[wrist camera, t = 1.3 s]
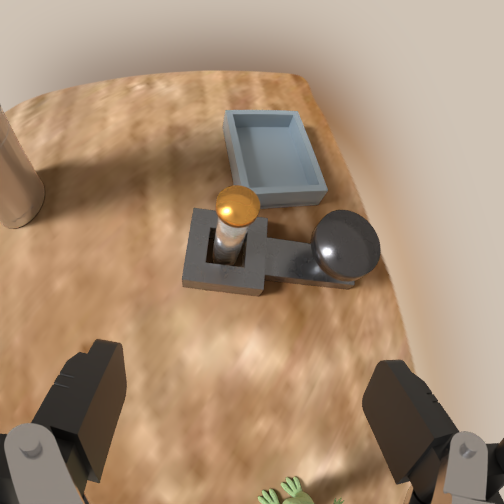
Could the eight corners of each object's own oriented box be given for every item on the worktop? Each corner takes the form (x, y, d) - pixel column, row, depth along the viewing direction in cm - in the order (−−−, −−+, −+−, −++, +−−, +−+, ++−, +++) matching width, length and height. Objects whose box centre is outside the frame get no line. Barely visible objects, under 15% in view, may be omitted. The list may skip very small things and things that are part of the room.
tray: (222, 127, 49) (225, 110, 45) (291, 127, 52) (297, 111, 48) (238, 210, 43) (243, 194, 40) (318, 204, 46) (327, 190, 42)
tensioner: (182, 286, 38) (179, 260, 30) (193, 219, 41) (194, 180, 33) (348, 304, 41) (383, 285, 32) (345, 241, 44) (376, 211, 36)
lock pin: (202, 253, 40) (207, 199, 28) (226, 236, 41) (241, 178, 30) (222, 277, 39) (235, 231, 27) (246, 259, 41) (269, 208, 29)
